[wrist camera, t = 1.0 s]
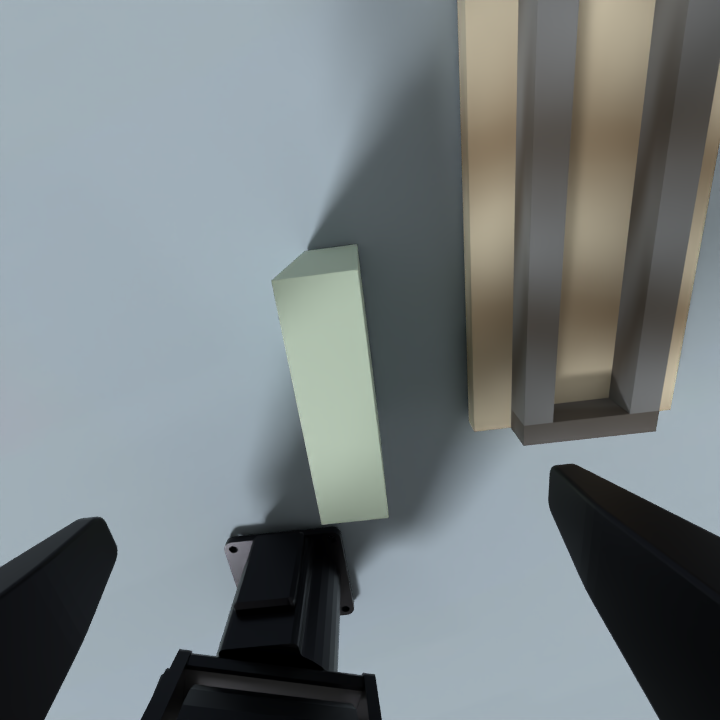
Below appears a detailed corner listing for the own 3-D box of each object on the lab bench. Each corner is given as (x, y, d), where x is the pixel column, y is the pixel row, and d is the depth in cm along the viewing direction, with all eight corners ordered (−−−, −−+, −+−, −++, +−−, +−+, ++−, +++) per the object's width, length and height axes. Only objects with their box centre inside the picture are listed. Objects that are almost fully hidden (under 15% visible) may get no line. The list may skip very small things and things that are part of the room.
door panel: (377, 412, 19) (388, 517, 13) (333, 417, 19) (321, 524, 13) (357, 244, 16) (357, 269, 10) (304, 250, 16) (271, 280, 10)
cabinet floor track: (654, 399, 19) (696, 426, 17) (468, 420, 19) (484, 450, 17) (770, -293, 11) (879, -425, 9) (450, -237, 11) (475, -351, 9)
